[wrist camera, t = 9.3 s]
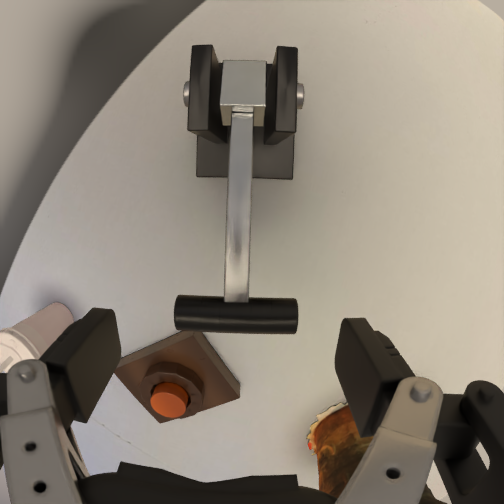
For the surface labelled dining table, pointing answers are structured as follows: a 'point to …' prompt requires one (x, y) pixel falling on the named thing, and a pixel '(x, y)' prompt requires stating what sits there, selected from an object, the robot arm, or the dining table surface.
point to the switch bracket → (264, 137)
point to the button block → (179, 373)
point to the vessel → (342, 451)
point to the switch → (239, 220)
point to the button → (169, 399)
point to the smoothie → (33, 335)
